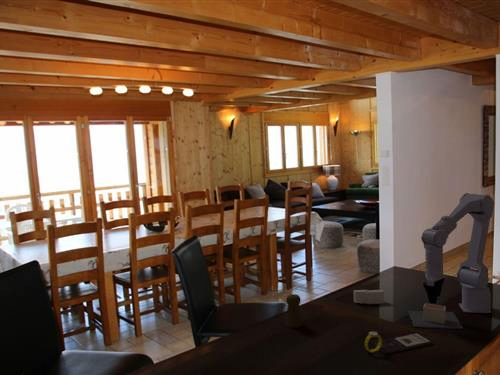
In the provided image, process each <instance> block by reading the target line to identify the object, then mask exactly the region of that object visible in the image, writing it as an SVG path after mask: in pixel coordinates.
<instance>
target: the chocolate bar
mask: <svg viewBox="0 0 500 375" xmlns="http://www.w3.org/2000/svg"><path fill="white" fill-rule="evenodd" d="M378 342H379V339H378V338H377V339H375V340H374V339H373V340H369V342H368V345H370V346H372V347H373V349H375V348H376V347H377V346H378ZM432 345H434V342H432V341H431V340H428V338H425V337H424V336H422V335H420V334H418V333H417V332H415V331H413V332H407V333H402V334H398V335H397V334H396V335H392V336H389V337H385V338H384V337H383V338H382V346H381V348H380V349H379V351H378V352H380V353H381V354H383V356H389V355H392V354H397V352H398V353H401V352H405V351H406V350H407V351H409V350H414V349H419V347H420V348H423V347H428V346H432Z"/></svg>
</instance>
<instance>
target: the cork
mask: <svg viewBox="0 0 500 375" xmlns="http://www.w3.org/2000/svg"><path fill="white" fill-rule="evenodd" d="M285 300H286V304H287V311H286V323H285V325H286V326H287V327H288V328H292V329H293V328H296V329H297V328H301V327H302V326H303V325H304V324H303V319H302V318H303V317H302V313H301V308H300V304H301V301H302V300H301V297H300V295H298V294H295V293H293V294H292V293H291V294H289V295H287V296H286V299H285Z"/></svg>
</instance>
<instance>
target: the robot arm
mask: <svg viewBox="0 0 500 375" xmlns="http://www.w3.org/2000/svg"><path fill="white" fill-rule="evenodd" d="M494 207H495V201H494V199H493V197H492V196H491V195H490V194H478V193H476V194H475V193H468V192H467V193H464V194H462V196H461V197H459V203H458V205H456V207H455V208H453V210H452V211H451V213H450V214H449V215H443V216H441V217H440V219H439V220H438V221H437V222H436V223H435V224H434V225H433V226H432V227H430V228H426V229H425V230H424V231H423V232H422V234H421V235H422V236H421V242H422V244H423V248H424V249H425V273H424V276H425V279H426V280H427V282H423V283H422V286H423V288H424V290H425V291H426V295H427V299H428V304H434V305H437V302H438V301H437V300H438V297H440V296H441V294H442V287H443V284H444V282H445V280H446V279H447V278H448V275H447V274H444V246H445V245H446V244H447V240H448V239H449V235H450V234H452V232H454V231H455V230H456V228H457V227H458V222H459V221H461V219H463V218H464V217H465V216H467V214H469V215H470V216H471V217H472V218H473V224H472V229H471V230H472V231H471V236H470V242H469V247H468V252H467V258H466V259H465V260H463V261H462V262H460V264H459V268H458V270H457V272H456V280H457V281H458V282H459V285H460V286H461V303H458V305H459V307H460V308H461V310H462V311H463V313H481V314H482V313H483V314H491V313H492V300H491V299H492V298H491V297H492V295H491V290H490V288H489V286H488V284H489V280H490V277H489V268H488V267H487V266H486V265H485V264H484V255H485V252H486V251H485V250H486V244H487V238H488V234H489V233H488V232H489V229H490V228H489V227H490V222H491V218H492V217H493V213H494Z"/></svg>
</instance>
